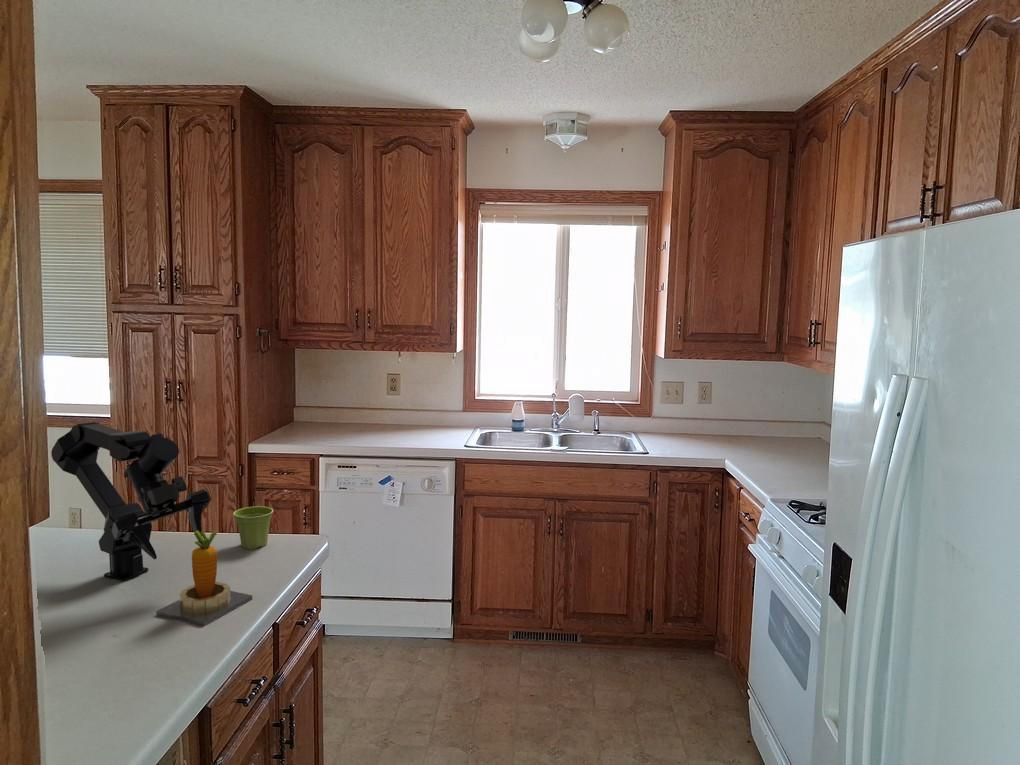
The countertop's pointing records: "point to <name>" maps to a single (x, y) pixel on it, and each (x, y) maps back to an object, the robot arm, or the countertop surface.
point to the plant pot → (253, 525)
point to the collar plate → (203, 616)
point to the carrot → (204, 564)
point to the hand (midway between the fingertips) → (178, 549)
